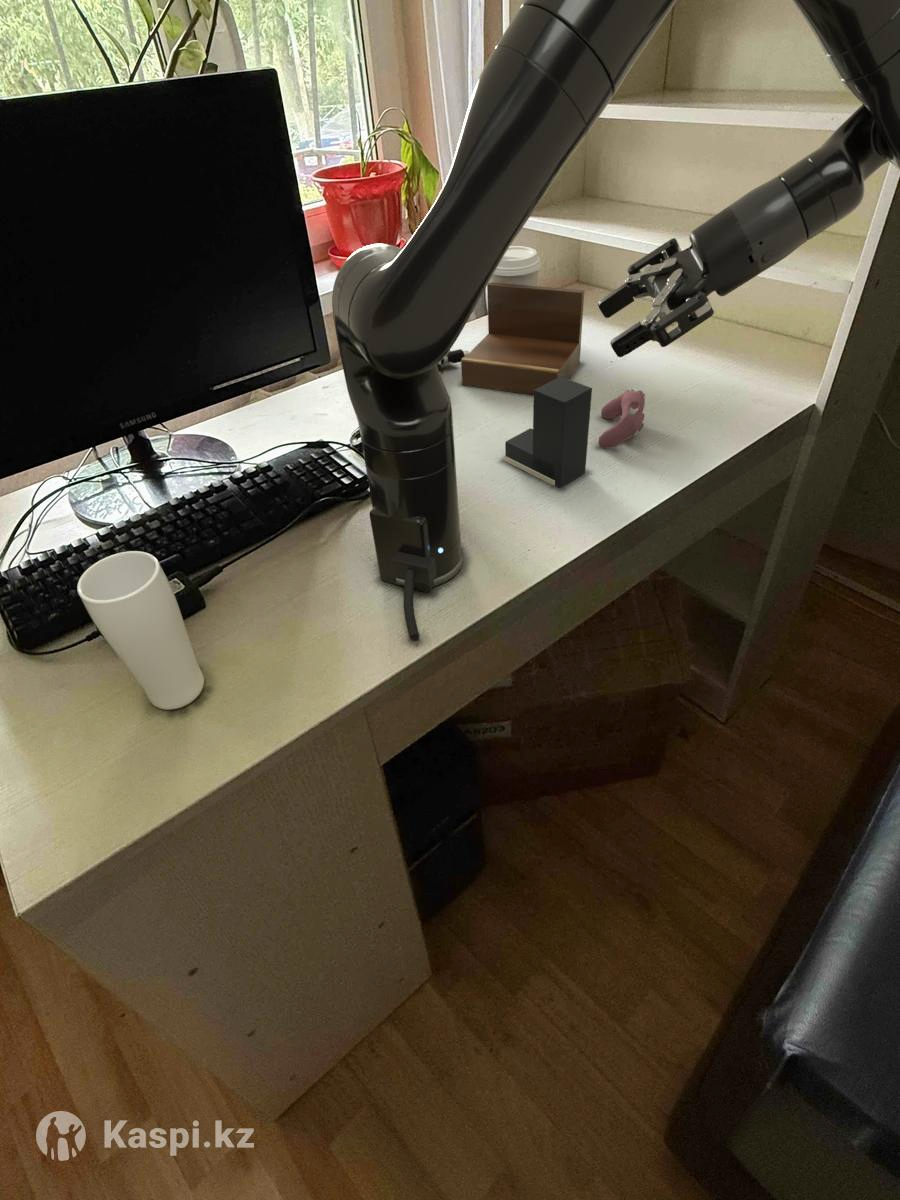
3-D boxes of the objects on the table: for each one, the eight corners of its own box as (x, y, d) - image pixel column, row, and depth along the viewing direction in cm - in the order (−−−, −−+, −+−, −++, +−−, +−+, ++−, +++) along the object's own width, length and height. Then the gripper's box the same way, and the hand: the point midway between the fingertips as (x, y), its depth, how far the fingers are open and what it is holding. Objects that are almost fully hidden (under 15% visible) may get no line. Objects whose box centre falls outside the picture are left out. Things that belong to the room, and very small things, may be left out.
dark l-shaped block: (585, 472, 91) (592, 387, 83) (559, 489, 88) (564, 402, 80) (530, 446, 97) (531, 364, 88) (504, 460, 94) (503, 378, 86)
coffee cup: (475, 344, 124) (472, 255, 114) (512, 327, 129) (512, 241, 118) (513, 358, 119) (513, 266, 108) (550, 340, 123) (553, 250, 113)
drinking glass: (128, 700, 66) (58, 585, 56) (182, 656, 70) (126, 540, 60) (173, 729, 63) (108, 613, 53) (227, 681, 67) (176, 565, 57)
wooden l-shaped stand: (555, 398, 107) (559, 320, 99) (462, 385, 112) (457, 310, 104) (579, 364, 115) (584, 290, 107) (491, 353, 121) (489, 282, 113)
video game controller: (623, 460, 95) (653, 420, 90) (595, 446, 94) (623, 405, 90) (624, 425, 102) (652, 386, 97) (598, 412, 101) (624, 372, 97)
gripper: (715, 180, 73) (581, 275, 80) (756, 238, 64) (602, 339, 71) (739, 238, 78) (611, 322, 85) (781, 299, 69) (634, 388, 76)
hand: (607, 330), depth 78 cm, fingers open, 8 cm apart
